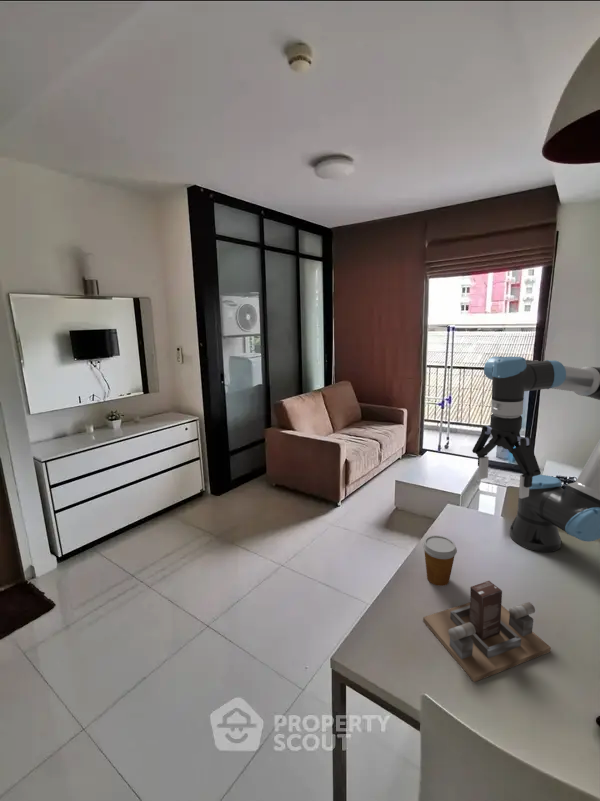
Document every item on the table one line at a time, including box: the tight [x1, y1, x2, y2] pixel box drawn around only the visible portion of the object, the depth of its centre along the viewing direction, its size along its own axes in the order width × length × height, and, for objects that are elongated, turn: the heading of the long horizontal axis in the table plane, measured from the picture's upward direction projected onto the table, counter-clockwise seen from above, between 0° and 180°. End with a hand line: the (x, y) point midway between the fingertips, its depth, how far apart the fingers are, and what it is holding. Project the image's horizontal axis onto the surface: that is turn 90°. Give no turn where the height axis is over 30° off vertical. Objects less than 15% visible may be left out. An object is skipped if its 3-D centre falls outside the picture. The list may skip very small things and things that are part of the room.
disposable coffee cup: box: [422, 535, 458, 587], centre depth 112 cm, size 10×10×12 cm
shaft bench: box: [422, 601, 552, 683], centre depth 93 cm, size 24×18×8 cm
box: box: [469, 580, 503, 640], centre depth 92 cm, size 6×4×12 cm
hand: (502, 487), depth 107 cm, fingers open, 13 cm apart
